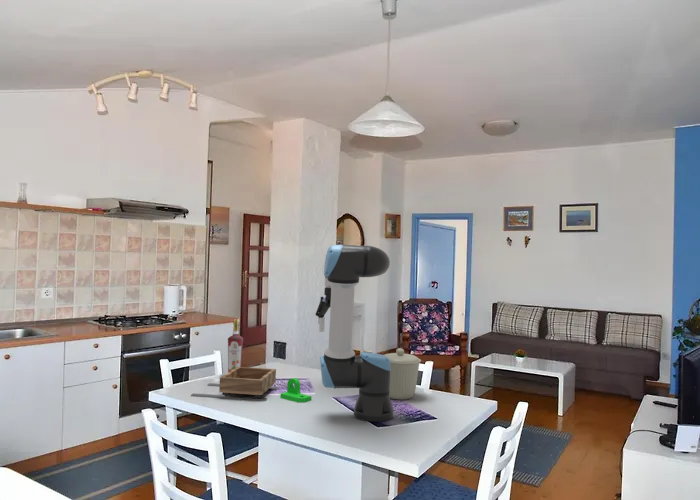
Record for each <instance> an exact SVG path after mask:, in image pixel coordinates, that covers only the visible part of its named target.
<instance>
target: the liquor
mask: <svg viewBox="0 0 700 500" xmlns="http://www.w3.org/2000/svg"><path fill="white" fill-rule="evenodd" d="M232 320H233V321H232V322H233V323H232V324H233V327H232V328H233V330H232V335H231V336H229V337H228V338H227V373H228V372H230V371H231V370H233V369H235V368H236V367H242V359H243V357H242V356H243V346H244V345H243V344H244V338H243V336H241V335H240V334H239V333H240V331H239V325H240V319H239V318H233V319H232Z"/></svg>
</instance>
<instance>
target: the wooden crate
mask: <svg viewBox="0 0 700 500" xmlns="http://www.w3.org/2000/svg"><path fill="white" fill-rule="evenodd" d="M276 376H277V369H276V368H266V367H265V368H264V367H263V368H262V367H248V366H247V367H246V366H241V367H236V368H235V369H233V370H231V371H230V372H228V371H227V373H225V374H224V375H222V376H220V377H219V384H220V386H218V387H219V388H218V389H219V393H222V394H223V395H225V396H230V394H239V395H253V397H255V398H260V397H261V396H262V395H264V393H266V392H267V391H268V390H270V389H269V388H270V387H273V385H275V383H277V382H276V379H277V377H276Z"/></svg>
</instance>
